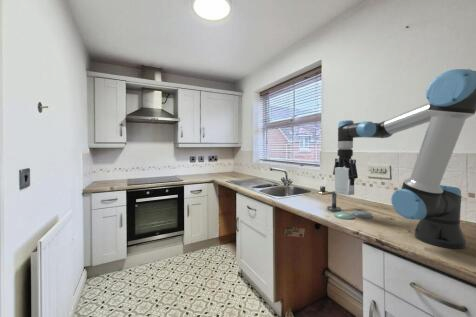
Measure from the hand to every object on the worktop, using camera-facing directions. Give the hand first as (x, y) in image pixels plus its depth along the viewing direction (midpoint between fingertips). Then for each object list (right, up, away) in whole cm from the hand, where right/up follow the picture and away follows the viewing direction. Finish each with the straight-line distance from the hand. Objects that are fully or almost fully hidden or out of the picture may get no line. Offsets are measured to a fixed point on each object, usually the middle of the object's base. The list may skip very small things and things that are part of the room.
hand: (344, 189), depth 117 cm
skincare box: (0, -3, 0) cm, 3 cm away
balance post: (+1, -15, +15) cm, 21 cm away
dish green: (0, -15, +1) cm, 15 cm away
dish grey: (+11, -15, +3) cm, 19 cm away
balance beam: (+1, -4, +15) cm, 15 cm away
